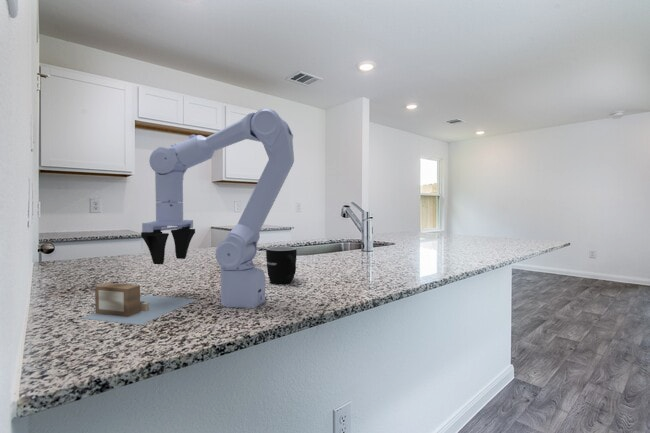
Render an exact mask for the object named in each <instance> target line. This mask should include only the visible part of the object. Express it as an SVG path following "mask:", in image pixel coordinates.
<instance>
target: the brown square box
mask: <svg viewBox="0 0 650 433" xmlns="http://www.w3.org/2000/svg"><path fill="white" fill-rule="evenodd" d="M140 285H141V284H140ZM140 285H139V284H128V283H126V284H125V283H112V282H107V283H102V284H98V285H95V286H94V296H95V298H94V299H95V300H94V301H95V302H94V304H95V313H97V314H106V315H116V316H125V317H129V316H132V315H134V314H137V313H139V312H140V297H141V286H140Z"/></svg>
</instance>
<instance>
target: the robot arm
mask: <svg viewBox="0 0 650 433" xmlns="http://www.w3.org/2000/svg"><path fill="white" fill-rule="evenodd" d="M245 140H249V141H255V142H260V143H262V145H263V147H264V150H265V152H266V155H267V157H268V161H267V163H266V165H265V166H264V169H263V171H262V173H261V175H260V178H259V179H258V181H257V182H256V185H255V187H254V190H253V191H252V193H251V195H250V197H249V199H248V202H246V203H247V204H246V206H245V208H244V209H243V211H242V213H241V216H240V218H239V219H238V222H237V224H236V225H234V227H233V228H232V229H231V230H230V231H229V232H228V234H227V236H226V238H225V239H224V240H222V241H221V242H220V243H219V244H218V245H217V247H216V249H215V253H214V254H215V259H216V261H217V263H218V264H219V266H220V305H221V306H223V307H226V308H246V309H255V308H256V307H258V306H260V305H261V304H262V303H264V302H266V274H265V272H264V270H263V269H260V268H256V267H255V266H254V264H255V263H254V262H253V260H254V258H255V256H257V255H256V254H257V253H258V252H257V251H258V242H259V240H260V231H261V229H262V228H263V226H264V224H265V221H266V220H267V217H268V216H269V213H270V212H271V209H272V207H273V206H274V204H275V201H276V199H277V197H278V195H279V193H280V192H281V189H282V187H283V186H284V183H285V181H286V180H287V177H288V175H289V173H290V171H291V169H292V167H293V165H294V162H295V155H294V152H295V151H294V143H293V140H294V134H293V132H292V130H291V128H290V126H289V124H288V123H287V122H286V121H285V120H284V119H283V118H282V117H281V116H280V115H279V113H278V112H276V111H275V110H274V109H272V108H269V107H268V108H267V107H264V108H260V109H258V110H257V111H255V112H251V113H248V114H246V115H245V116H244V117H243V118H241V119H240V120H237V121H235V122H233V123H231V124H230V125H227V126H226V127H224V128H222V129H219V131H216V132H214V133H212V134H210V135H208V136H203V135H201V134H197V135H196V134H191V135H188V139H187V140H184V141H182V142H179V143H177V144H176V143H173V144H171V145H170V147H169V148H168V147H165V146H160V147H157V148H156V149H154V150H153V151H152V152H151V154H150V156H149V159H148V160H149V161H148V162H149V165H150V168H151V170H153V172H155V178H154V182H155V184H154V185H155V188H154V189H155V220H153V221H149V222H141V223H142V224H141V227H142V228H141V230H142V231H141V233H140V234H141V235H140V236H141V238H142V239H143V241H144V243H145V244H146V247H147V248H148V250H149V254H150V256H151V260H152V264H154V265H163V264H164V263H165V252H166V244H167V240H168V238H169V235H170V233H171V235H172V238H173V242H174V250H175V251H174V253H175V258H176V260H177V259H179V260H180V259H181V260H185V259H186V258H187V255H188V251H189V246H190V244H191V241H192V239H193V237H194V235H195V234H196V228H194V220H193V219H192V220H191V219H184V175H185V173H186V172H187V171H188V169H191V168H193V167H194V166H197V165H199V164H202V163H203V162H206V161H209V160H210V159H212V158H213V156H214V153H215V151H218V150H220V149H224V148H227V147H228V146H231V145H232V146H233V145H235V144H236V143H239V142H243V141H245ZM163 231H170V233H168V232H163Z"/></svg>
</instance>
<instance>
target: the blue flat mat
mask: <svg viewBox="0 0 650 433" xmlns="http://www.w3.org/2000/svg"><path fill="white" fill-rule="evenodd" d="M197 300H198V299H195V298H186V297H185V298H183V297H172V296H160V295H148V294H146V295H143V296H140V312H139V313H137V314H134V315H132V316H129V317H125V316H116V315H106V314H97V313H96V312H93V313H91V314H88V315H85V316H83V317H80V318H79V319H82V320H92V321H101V322H109V323H119V324H127V325H137V326H142V325H144V324H146V323H149V322H151V321H154V320H156V319H158V318H160V317H163V316H164V315H167V314H169V313H171V312H173V311H176V310H178V309H180V308H182V307H184V306H186V305H189V304H191V303H194V302H196V301H197Z"/></svg>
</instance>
